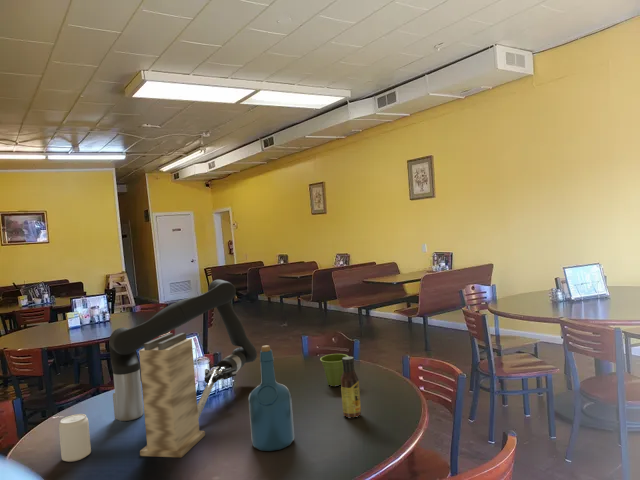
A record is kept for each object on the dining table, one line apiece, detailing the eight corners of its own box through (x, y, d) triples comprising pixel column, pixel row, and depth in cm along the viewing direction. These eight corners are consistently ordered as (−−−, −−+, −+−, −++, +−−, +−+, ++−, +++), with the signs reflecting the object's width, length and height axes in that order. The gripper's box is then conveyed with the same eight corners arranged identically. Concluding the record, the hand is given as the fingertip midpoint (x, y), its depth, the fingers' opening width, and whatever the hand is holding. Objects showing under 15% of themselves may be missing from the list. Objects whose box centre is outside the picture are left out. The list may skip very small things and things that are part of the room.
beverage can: (69, 452, 149) (65, 414, 149) (95, 449, 150) (92, 412, 150) (56, 464, 141) (53, 425, 141) (84, 461, 142) (81, 422, 142)
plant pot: (320, 381, 200) (318, 355, 200) (348, 378, 201) (346, 352, 201) (324, 390, 188) (321, 362, 188) (353, 387, 190) (350, 359, 189)
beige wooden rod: (200, 418, 163) (198, 413, 162) (194, 418, 164) (191, 413, 163) (219, 374, 180) (217, 369, 179) (213, 374, 180) (212, 369, 179)
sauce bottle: (360, 419, 157) (355, 360, 157) (341, 419, 158) (337, 361, 158) (362, 411, 164) (358, 355, 163) (344, 411, 165) (340, 355, 164)
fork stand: (140, 455, 143) (130, 344, 142) (167, 434, 157) (158, 333, 157) (181, 457, 140) (172, 343, 139) (205, 435, 154) (196, 332, 154)
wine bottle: (255, 434, 151) (248, 342, 151) (296, 432, 151) (289, 339, 151) (247, 455, 138) (239, 353, 137) (292, 452, 137) (284, 350, 137)
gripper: (212, 357, 192) (191, 370, 176) (244, 356, 189) (225, 370, 172) (214, 375, 193) (193, 390, 176) (245, 375, 189) (227, 390, 173)
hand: (209, 380), depth 174 cm, fingers closed on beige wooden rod, 2 cm apart
